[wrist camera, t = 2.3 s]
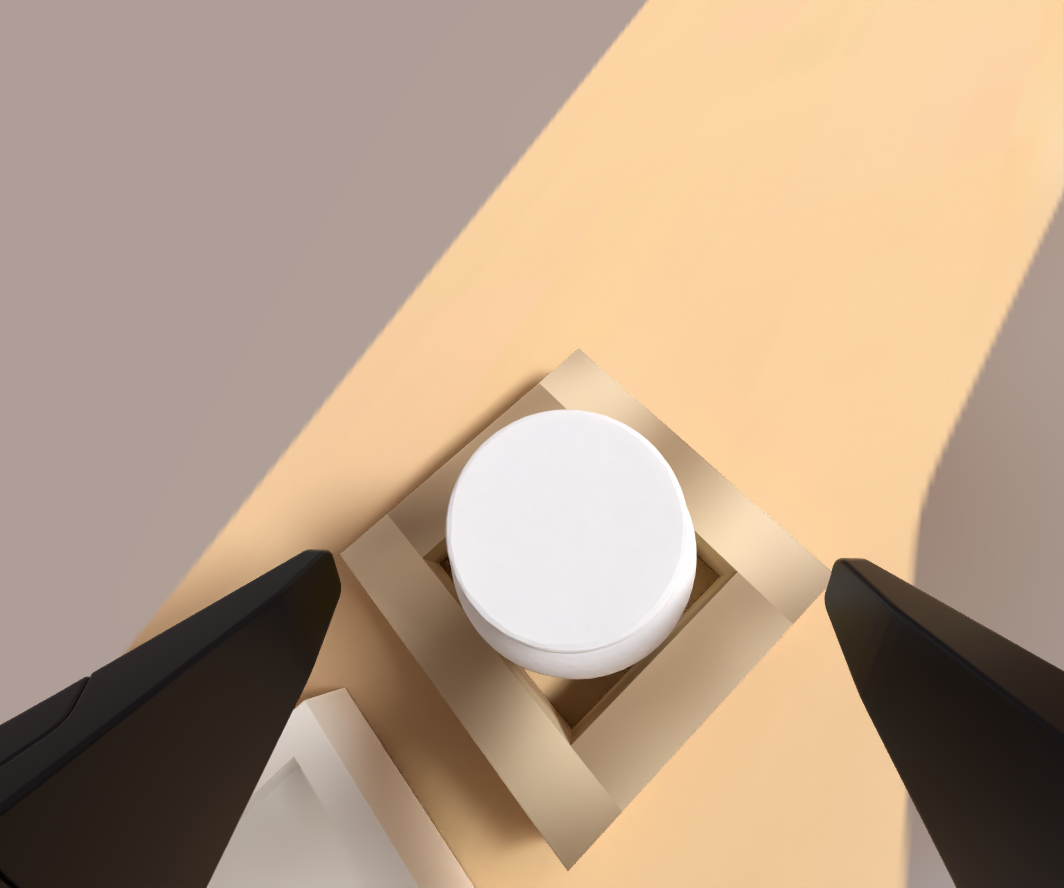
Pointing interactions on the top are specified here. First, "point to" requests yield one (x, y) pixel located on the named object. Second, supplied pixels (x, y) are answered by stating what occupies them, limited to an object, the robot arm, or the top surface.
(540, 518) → the supplement bottle
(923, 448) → the top surface
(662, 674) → the wooden square frame
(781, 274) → the top surface
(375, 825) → the plastic tray
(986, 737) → the robot arm
